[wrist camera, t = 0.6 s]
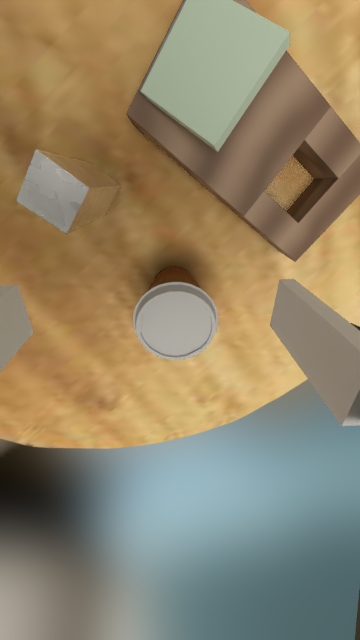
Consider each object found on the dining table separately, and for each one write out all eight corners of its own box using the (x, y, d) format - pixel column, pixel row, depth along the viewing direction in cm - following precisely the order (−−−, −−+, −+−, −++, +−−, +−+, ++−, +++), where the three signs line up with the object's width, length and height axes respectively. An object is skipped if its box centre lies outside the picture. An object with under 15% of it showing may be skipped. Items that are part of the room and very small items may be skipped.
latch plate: (142, 96, 23) (136, 88, 22) (196, -9, 20) (192, -23, 19) (217, 152, 21) (214, 146, 20) (289, 44, 18) (289, 31, 17)
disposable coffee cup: (167, 241, 34) (166, 267, 23) (219, 281, 37) (238, 320, 27) (129, 292, 37) (114, 335, 27) (179, 325, 40) (183, 375, 30)
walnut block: (133, 124, 28) (126, 113, 23) (200, -5, 23) (207, -49, 19) (279, 251, 35) (295, 261, 31) (352, 172, 31) (382, 170, 26)
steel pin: (77, 193, 31) (15, 200, 19) (92, 162, 29) (36, 149, 17) (106, 214, 32) (66, 233, 20) (121, 185, 31) (89, 188, 18)
